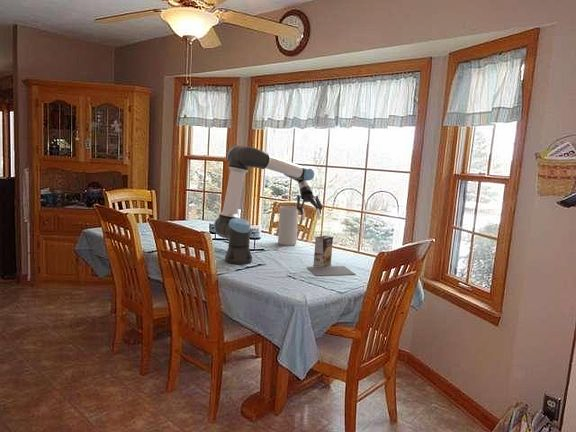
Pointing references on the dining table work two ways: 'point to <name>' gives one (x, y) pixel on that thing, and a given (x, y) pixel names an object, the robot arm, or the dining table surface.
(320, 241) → the coffee box
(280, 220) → the cylinder vase
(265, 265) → the dining table surface
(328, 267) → the mat
